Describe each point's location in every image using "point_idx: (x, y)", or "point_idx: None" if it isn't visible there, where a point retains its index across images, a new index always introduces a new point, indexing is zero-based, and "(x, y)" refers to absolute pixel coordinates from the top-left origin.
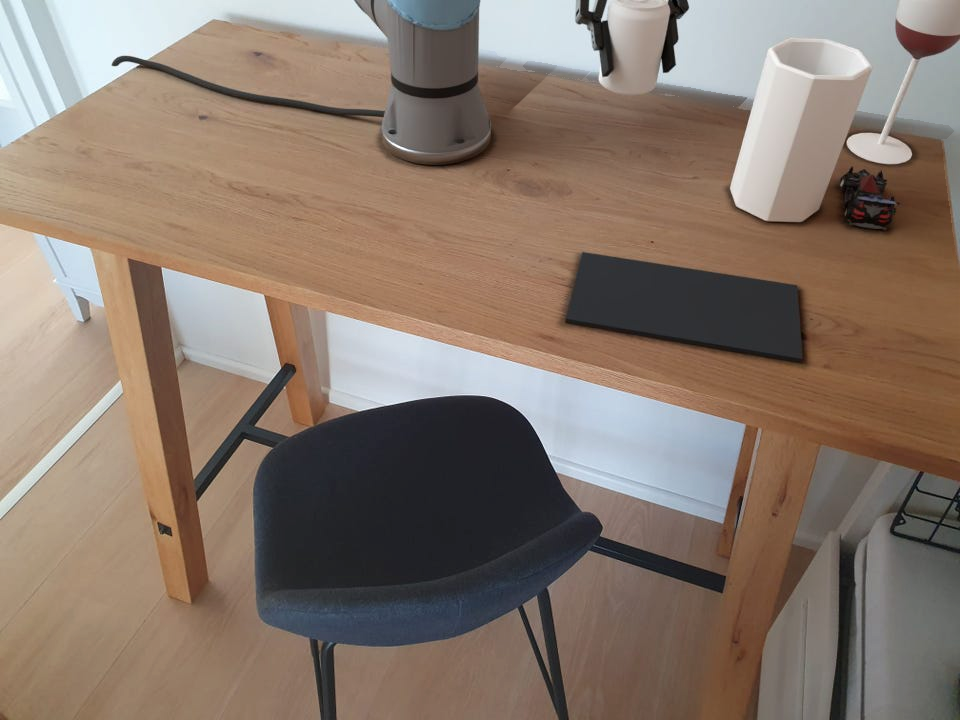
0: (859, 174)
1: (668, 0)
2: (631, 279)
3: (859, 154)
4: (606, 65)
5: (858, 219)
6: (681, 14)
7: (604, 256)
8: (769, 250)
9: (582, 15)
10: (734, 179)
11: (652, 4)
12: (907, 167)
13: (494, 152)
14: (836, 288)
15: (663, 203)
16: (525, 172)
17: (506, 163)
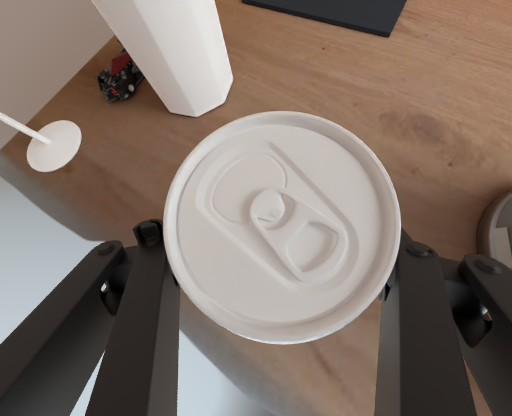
0: (113, 81)
1: (140, 270)
2: (357, 5)
3: (78, 137)
4: None
5: None
6: (129, 247)
7: (372, 27)
8: (237, 35)
9: (486, 257)
10: (223, 86)
11: (242, 172)
12: (59, 115)
13: (468, 205)
14: (216, 3)
15: (293, 92)
16: (428, 157)
17: (452, 179)
